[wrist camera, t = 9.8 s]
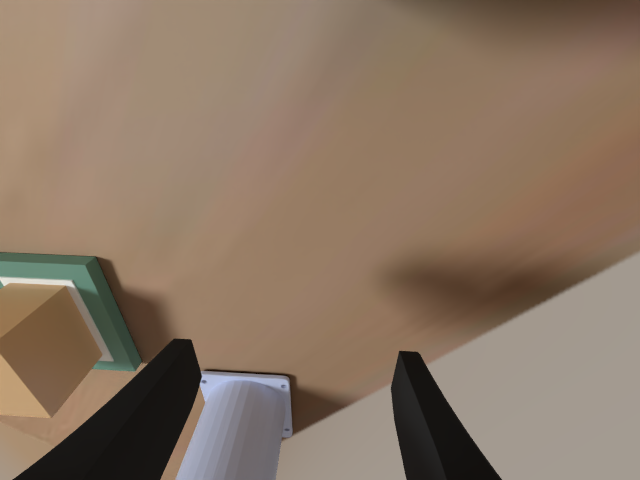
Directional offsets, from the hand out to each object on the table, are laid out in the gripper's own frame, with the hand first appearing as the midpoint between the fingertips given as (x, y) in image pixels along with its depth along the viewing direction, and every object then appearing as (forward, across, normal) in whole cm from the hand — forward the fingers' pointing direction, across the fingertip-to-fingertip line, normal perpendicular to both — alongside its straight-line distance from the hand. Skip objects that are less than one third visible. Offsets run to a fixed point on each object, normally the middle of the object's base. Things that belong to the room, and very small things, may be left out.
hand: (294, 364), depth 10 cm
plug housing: (+8, +19, +8) cm, 22 cm away
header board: (+9, +19, +8) cm, 23 cm away
